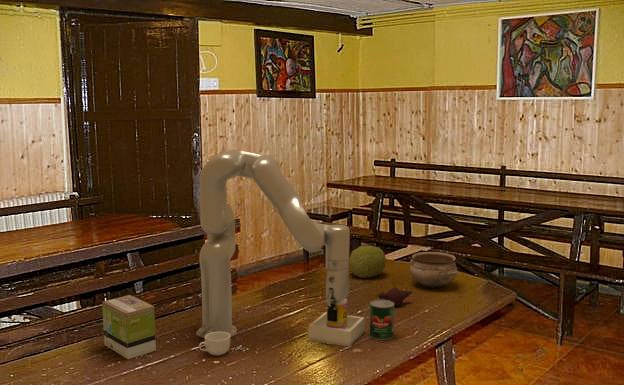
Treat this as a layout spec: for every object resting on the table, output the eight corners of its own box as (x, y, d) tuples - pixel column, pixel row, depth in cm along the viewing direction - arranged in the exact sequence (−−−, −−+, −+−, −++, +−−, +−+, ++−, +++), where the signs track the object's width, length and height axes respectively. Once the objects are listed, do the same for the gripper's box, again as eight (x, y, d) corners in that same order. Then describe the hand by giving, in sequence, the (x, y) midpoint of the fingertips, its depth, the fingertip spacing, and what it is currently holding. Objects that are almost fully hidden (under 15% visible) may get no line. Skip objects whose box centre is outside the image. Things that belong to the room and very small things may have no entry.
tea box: (103, 346, 207) (100, 300, 205) (132, 338, 214) (130, 293, 212) (127, 360, 196) (125, 312, 194) (157, 351, 203) (155, 304, 201)
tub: (350, 347, 207) (350, 331, 206) (308, 340, 212) (308, 325, 211) (364, 332, 219) (364, 317, 219) (325, 326, 225) (325, 312, 224)
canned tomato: (374, 341, 212) (374, 308, 210) (365, 332, 219) (366, 300, 217) (397, 338, 214) (398, 305, 212) (388, 330, 221) (388, 298, 220)
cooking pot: (394, 283, 276) (395, 254, 274) (426, 275, 287) (427, 248, 285) (439, 298, 256) (440, 267, 254) (472, 289, 267) (473, 259, 265)
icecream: (404, 282, 254) (371, 292, 246) (416, 282, 247) (383, 292, 240) (408, 300, 254) (375, 310, 246) (419, 301, 247) (387, 311, 240)
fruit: (359, 269, 297) (376, 240, 294) (380, 287, 287) (398, 258, 285) (337, 264, 285) (354, 234, 282) (358, 283, 275) (376, 252, 273)
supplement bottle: (345, 332, 211) (345, 293, 209) (324, 330, 213) (325, 292, 211) (348, 325, 218) (348, 287, 216) (328, 323, 219) (328, 286, 217)
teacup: (223, 346, 207) (223, 329, 207) (235, 354, 201) (235, 337, 200) (194, 353, 202) (193, 336, 201) (205, 361, 196) (204, 344, 195)
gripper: (338, 271, 203) (337, 327, 205) (357, 258, 219) (356, 310, 221) (316, 268, 206) (315, 324, 208) (336, 256, 221) (335, 307, 224)
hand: (336, 316), depth 215 cm, fingers closed on supplement bottle, 6 cm apart
